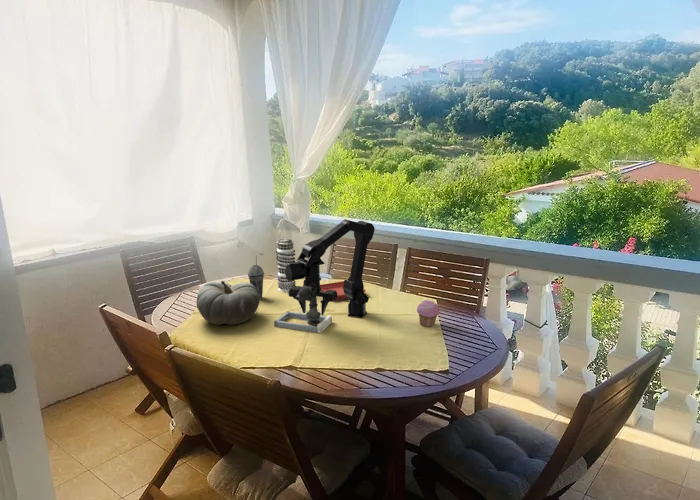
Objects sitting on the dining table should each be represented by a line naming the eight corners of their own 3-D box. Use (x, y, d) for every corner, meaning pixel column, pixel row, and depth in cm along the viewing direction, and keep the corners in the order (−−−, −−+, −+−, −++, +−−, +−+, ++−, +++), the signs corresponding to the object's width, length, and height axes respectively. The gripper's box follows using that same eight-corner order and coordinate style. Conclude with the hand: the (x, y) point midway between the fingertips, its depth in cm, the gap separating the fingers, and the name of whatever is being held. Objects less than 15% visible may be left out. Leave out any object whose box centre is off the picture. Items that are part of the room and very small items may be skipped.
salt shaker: (304, 324, 193) (303, 295, 190) (308, 318, 198) (307, 290, 195) (318, 325, 192) (318, 296, 189) (322, 320, 197) (322, 291, 194)
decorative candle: (295, 292, 234) (293, 241, 228) (276, 292, 234) (273, 241, 228) (297, 286, 243) (296, 236, 236) (278, 286, 243) (276, 236, 237)
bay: (331, 322, 199) (331, 315, 198) (320, 333, 188) (320, 325, 188) (287, 315, 205) (287, 309, 205) (274, 326, 195) (273, 319, 194)
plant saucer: (316, 291, 236) (316, 284, 235) (350, 286, 244) (350, 279, 243) (330, 303, 220) (330, 296, 220) (366, 297, 228) (366, 290, 227)
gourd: (191, 306, 209) (195, 268, 204) (249, 307, 219) (255, 271, 215) (198, 334, 187) (203, 293, 182) (262, 334, 198) (268, 294, 193)
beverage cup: (246, 299, 224) (243, 257, 219) (254, 294, 231) (252, 253, 226) (259, 301, 222) (257, 259, 217) (268, 296, 228) (266, 255, 223)
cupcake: (425, 319, 202) (426, 296, 199) (443, 325, 196) (444, 301, 193) (412, 325, 196) (412, 301, 193) (429, 331, 190) (430, 307, 187)
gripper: (281, 280, 186) (282, 318, 190) (326, 285, 180) (327, 324, 184) (294, 271, 196) (295, 308, 200) (337, 276, 190) (338, 314, 194)
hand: (313, 314), depth 194 cm, fingers closed on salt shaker, 7 cm apart
